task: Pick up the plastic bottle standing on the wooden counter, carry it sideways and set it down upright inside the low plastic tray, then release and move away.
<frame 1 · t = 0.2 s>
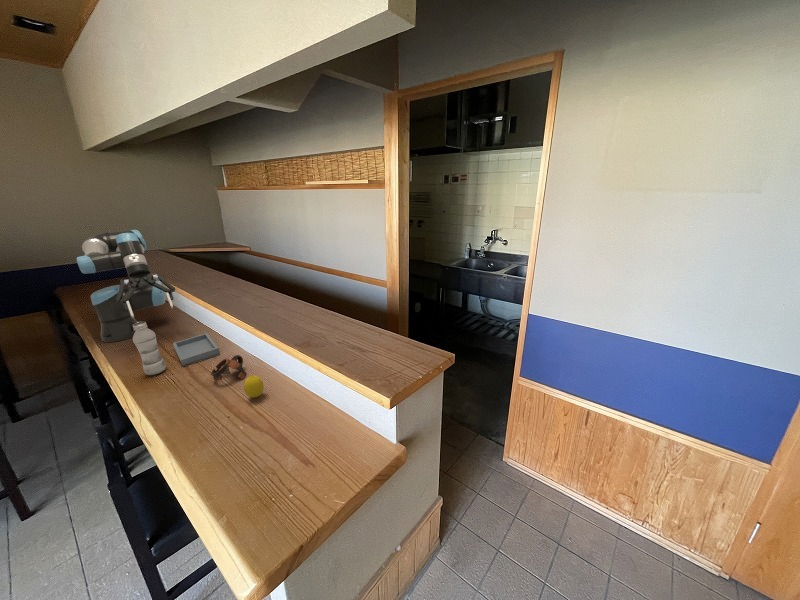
hand: (153, 311, 134), 16 cm above the worktop, tool tilted 35°, fingers open, 13 cm apart
tray: (197, 351, 133), on the worktop
plastic bottle: (157, 372, 119), on the worktop
lemon: (256, 397, 102), on the worktop
brown irregular piece: (233, 376, 114), on the worktop
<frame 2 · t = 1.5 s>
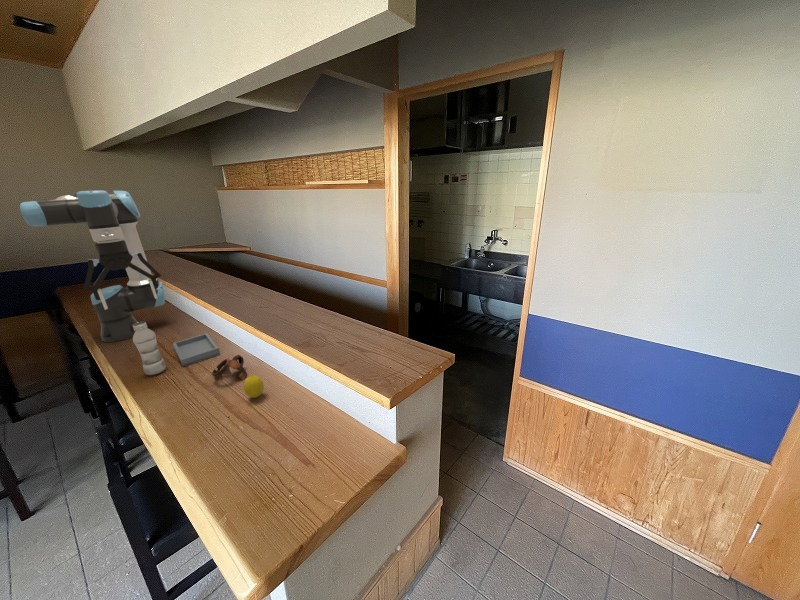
hand: (132, 303, 110), 28 cm above the worktop, tool pointing down, fingers open, 13 cm apart
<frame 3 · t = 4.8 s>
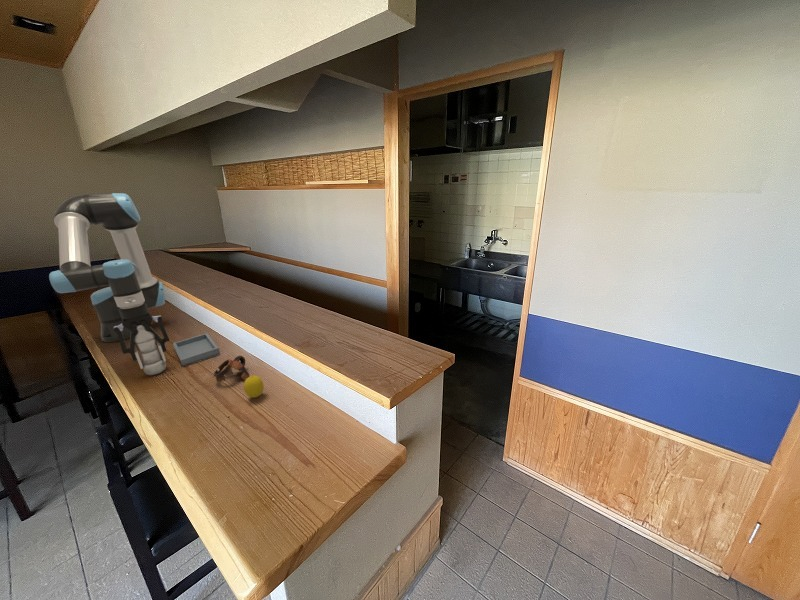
hand: (153, 363, 117), 4 cm above the worktop, tool pointing down, fingers closed on plastic bottle, 6 cm apart
plastic bottle: (157, 372, 119), on the worktop, touching gripper
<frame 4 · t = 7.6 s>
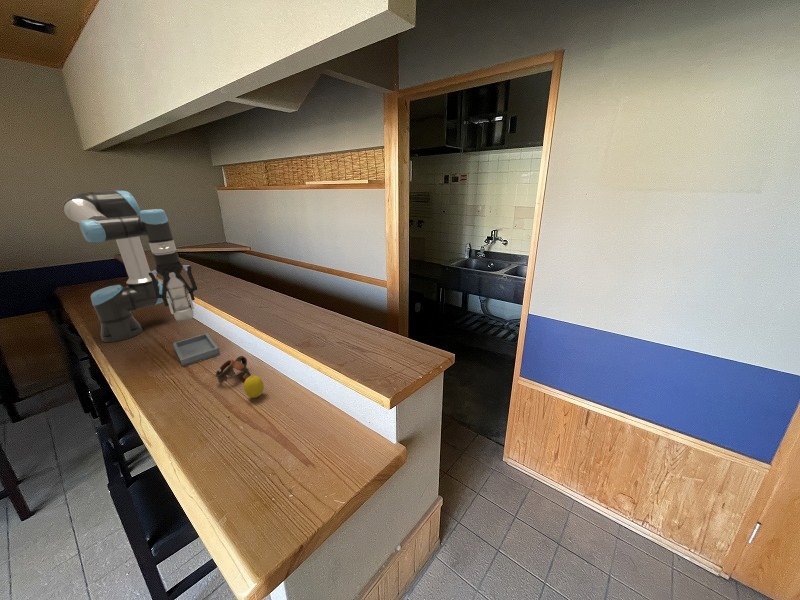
hand: (182, 310, 126), 19 cm above the worktop, tool pointing down, fingers closed on plastic bottle, 6 cm apart
plastic bottle: (185, 320, 127), point 15 cm above the worktop, touching gripper
when the fingers open (6 cm above the worktop, at t = 10.8 s): plastic bottle stays where it is, resting on tray.
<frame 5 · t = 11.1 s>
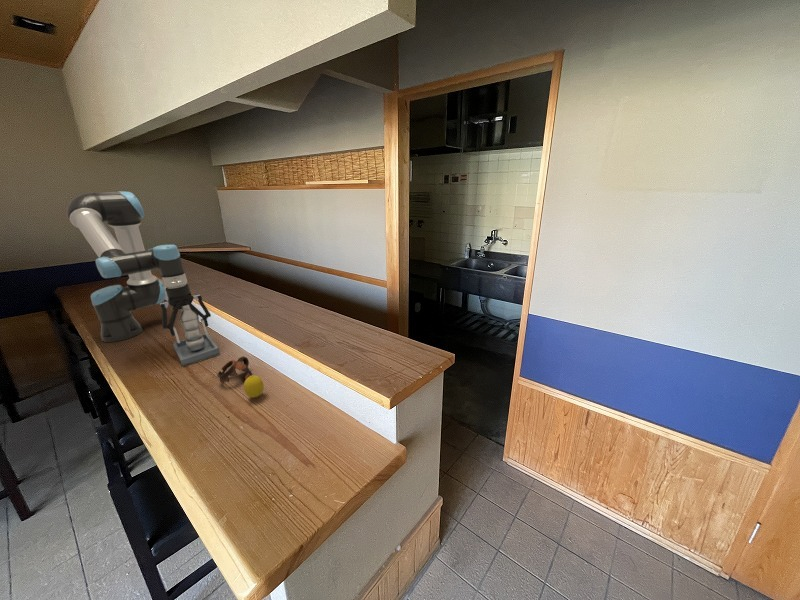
hand: (192, 337, 130), 7 cm above the worktop, tool pointing down, fingers open, 9 cm apart
plastic bottle: (197, 349, 133), point 1 cm above the worktop, touching tray
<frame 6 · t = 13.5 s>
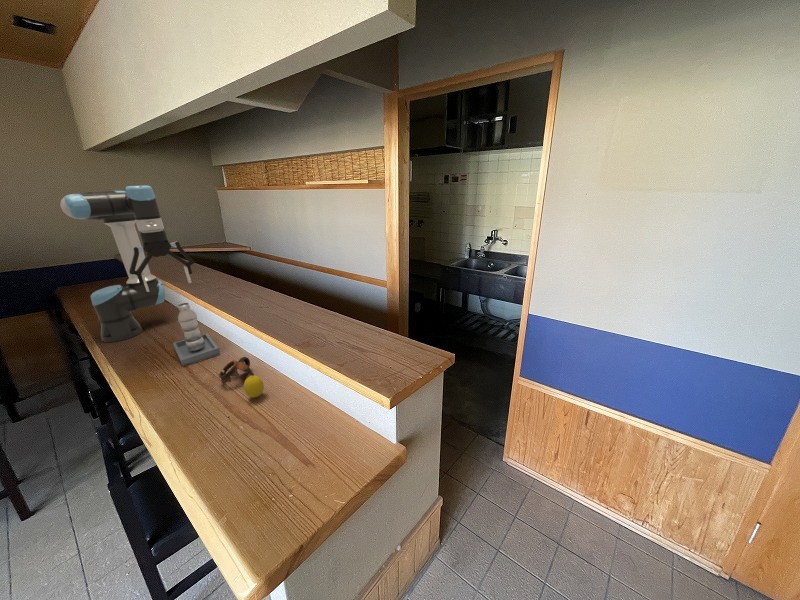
hand: (169, 286, 123), 29 cm above the worktop, tool pointing down, fingers open, 13 cm apart
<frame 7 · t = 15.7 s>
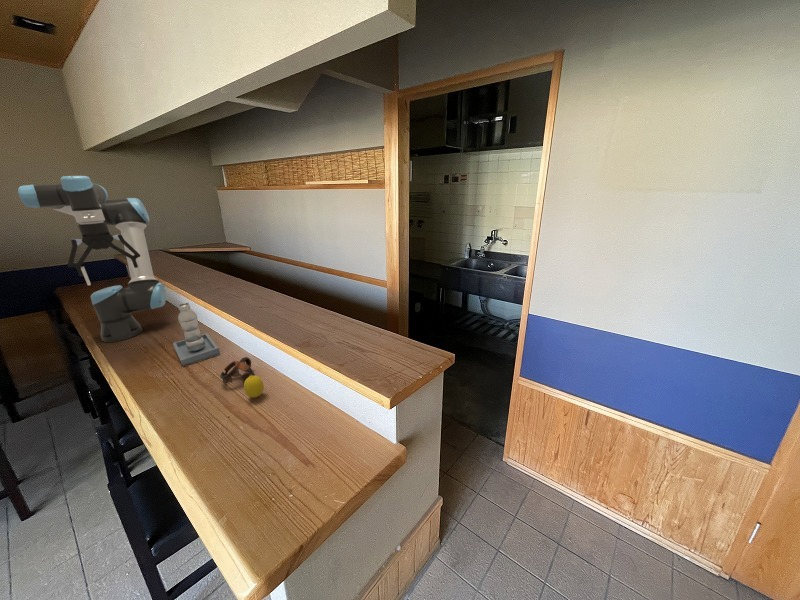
hand: (113, 280, 120), 33 cm above the worktop, tool pointing down, fingers open, 13 cm apart
at the end: plastic bottle inside the target area on the tray (0.3 cm from its centre), point 0.8 cm above the tray's base; plastic bottle tilted 0°; the gripper is holding nothing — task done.
